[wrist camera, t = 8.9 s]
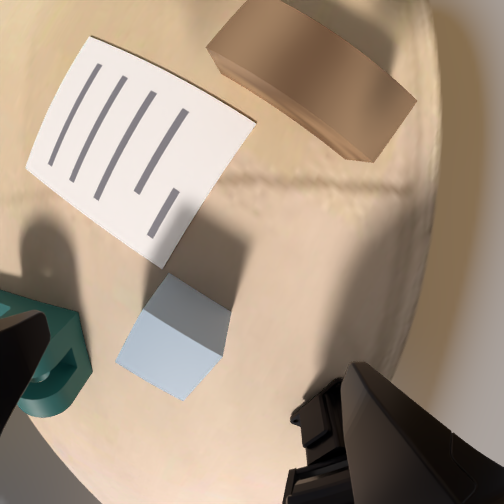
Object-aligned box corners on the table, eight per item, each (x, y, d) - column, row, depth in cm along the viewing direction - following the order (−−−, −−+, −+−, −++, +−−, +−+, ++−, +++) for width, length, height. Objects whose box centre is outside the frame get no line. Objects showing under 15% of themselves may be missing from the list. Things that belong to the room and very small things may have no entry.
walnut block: (379, 111, 15) (417, 100, 11) (344, 159, 17) (373, 162, 12) (260, 27, 14) (258, -11, 9) (221, 74, 15) (205, 47, 10)
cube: (231, 311, 20) (222, 356, 15) (196, 355, 22) (182, 401, 17) (169, 272, 19) (142, 308, 15) (141, 321, 21) (114, 361, 16)
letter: (256, 123, 16) (256, 123, 16) (162, 268, 19) (162, 269, 19) (90, 36, 14) (89, 36, 14) (26, 168, 17) (25, 168, 17)
